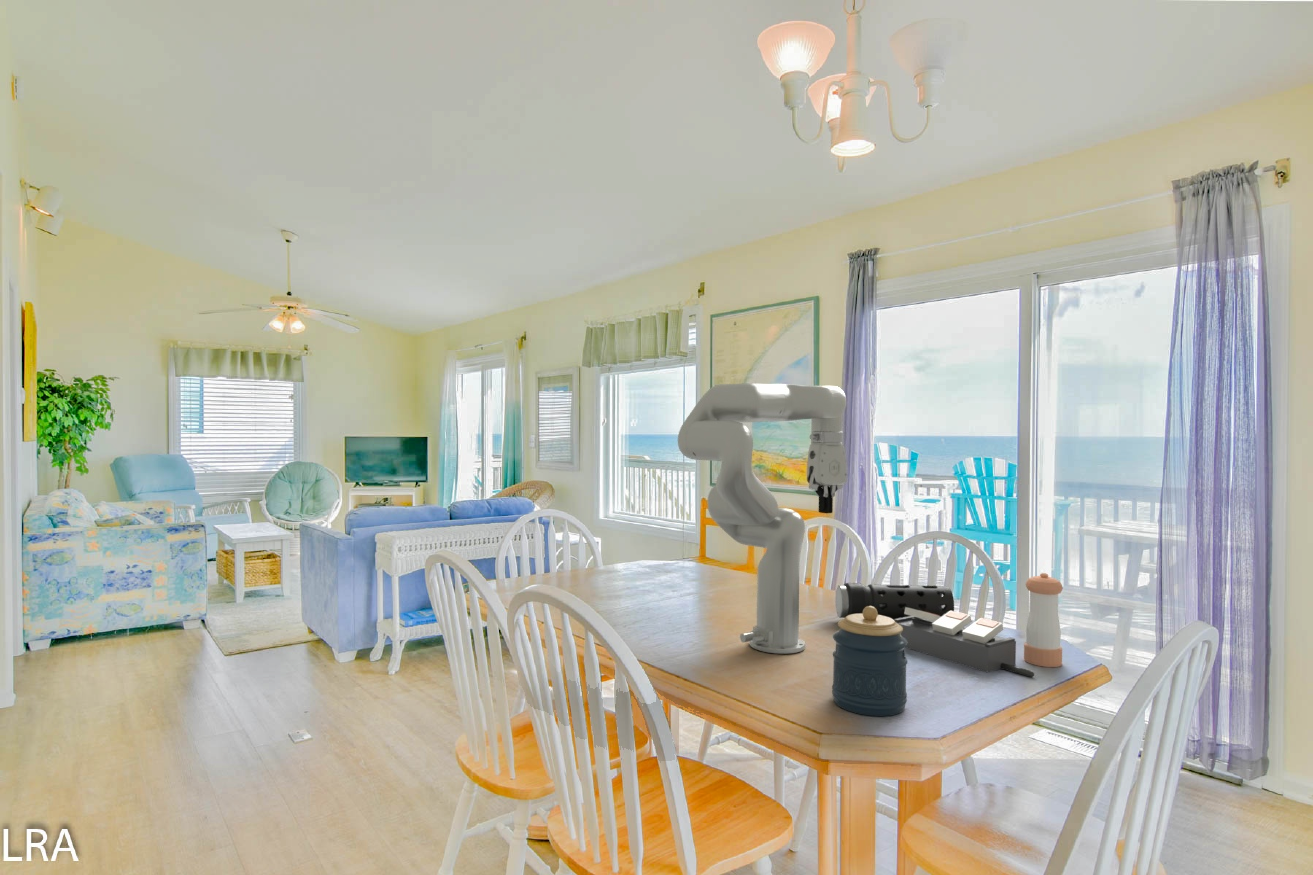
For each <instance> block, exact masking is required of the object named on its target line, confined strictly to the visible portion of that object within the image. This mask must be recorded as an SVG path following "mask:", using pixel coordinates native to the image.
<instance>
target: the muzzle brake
mask: <svg viewBox="0 0 1313 875" xmlns="http://www.w3.org/2000/svg"><path fill="white" fill-rule="evenodd" d="M834 598H835V600H834V601H835V609H836V610H835V611H836V614H837V617H839V618H842V619H844V618H846V616H848V615H851V614H861V613H863V610H864V608H865V607H867V606H873V607H875V608H876V610H877V612H878V615H882V616H886V617H889V618H892V619H893V620H894V619H898V618H903V617H908V616H910V615H906V614H904V612H905V607H907V608H911V609H915V610H920V611H924V612H928V613H932V614H936V615H939V616H941V617H942V616H943V615H945V614H946V613H948V612H949V611H950V610H951V611H955V599H954V594H953V592H952V590H951V588H950V587H949V586H948V585H919V584H899V585H898V584H876V583H875V584H868V585H866V586H865V584H863V583H861V582H846V583H844V584H840V585H837V586H836V588H835V597H834Z"/></svg>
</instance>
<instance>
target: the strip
mask: <svg viewBox="0 0 1313 875" xmlns="http://www.w3.org/2000/svg"><path fill="white" fill-rule="evenodd" d="M894 621H895V622H896V623H898V624H899V625H901V626H902V627H903V631H902V632H901V633H900V634H901V636H903V637H904V638H905V639H906V640H907V642H908V645H907V646H906V647H905V648H906V649H909V650H913V651H916V652H920V653H923V654H925V655H929V656H933V657H936V658H939V659H942V660H945V661H950V662H952V663H955V664H959V665H962V666H965V667H969V668H972V669H975V670H978V671H982V672H984V673H985V672H986V673H991V672H994V671H998V670H1001V669H1002V670H1005V671H1008V672H1011V673H1016V674H1020V675H1023V676H1026V677H1030V678H1033V677H1034V676H1035V672H1034V671H1033V670H1029V669H1025V668H1023V667H1019V666H1015V665H1016V661H1017V660H1016V658H1017V657H1016V655H1017V644H1016V643H1017V641H1016V638H1013V637H1008V638H1006V637H1001V636H997V635H996V636H994V637H993V638H992V639H991V640H989V641H988V642H987V643H985V644H983V643H980V642H976V641H972V640H969V639H965V638H963V634H962V631H963V630H965V629H966V628H967V627H964V628H962V629H961V630H960V631H958V632H957V633H956V634H954V635H949V634H946V633H942V632H938V631H935V630H933V626H932V623H934V622H932V621H928V620H924V619H921V618H917V617H914V616H908V617H903V618H898V619H894Z"/></svg>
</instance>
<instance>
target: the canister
mask: <svg viewBox="0 0 1313 875" xmlns="http://www.w3.org/2000/svg"><path fill="white" fill-rule="evenodd" d="M837 626H838V628H839V630H837V631H835V632H834V633H833V635H832V638H833V640H834V641H835V649H834V651H833V652H832V657H833V668H832V669H833V671H832V672H833V676H832V677H833V678H832V679H833V680H832V681H833V683H832V686H831V689H832V690H831V693H832V696H833V698H832V699H833V703H835V704H836V705H837V707H839V708H841V709H844V710H846V711H848V712H851V713H855V714H859V715H864V716H873V717H874V716H875V717H887V716H889V717H890V716H895V715H898V714H901V713H902V712H904V711H905V709H906V704H907V701H908V700H907V699H908V694H907V664H908V659H907V657H906V656H905V648H906V646H907V645H908V642H907V640H906V639H905V638H904V637H903V636H901V634H900V633H901V632H902V631H903V627H902V626H901V625H899V624H898V623H896V622H895V621H894V620H893V619H892V618H889V617H886V616H882V615H878V612H877V610H876V608H875V607H873V606H867V607H865V608H864V610H863V613H861V614H851V615H848V616H846V618H842V619H840V620H838V622H837Z"/></svg>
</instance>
